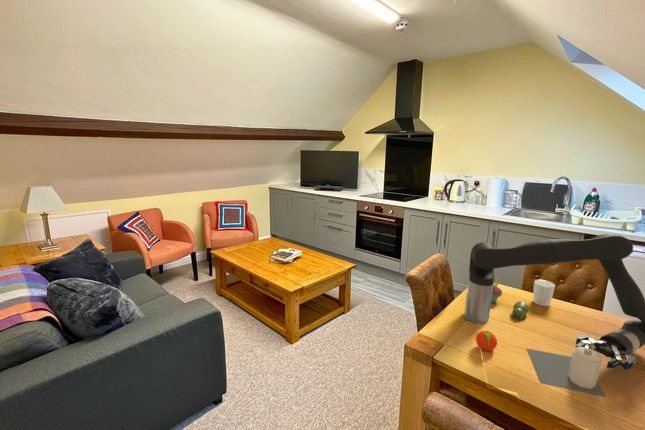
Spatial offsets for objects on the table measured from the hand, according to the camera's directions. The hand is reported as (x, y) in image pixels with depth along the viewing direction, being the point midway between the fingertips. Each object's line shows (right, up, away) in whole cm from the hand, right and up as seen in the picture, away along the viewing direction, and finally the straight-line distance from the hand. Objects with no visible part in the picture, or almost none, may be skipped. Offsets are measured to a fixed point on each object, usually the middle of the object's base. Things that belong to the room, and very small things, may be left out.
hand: (592, 357), depth 101 cm
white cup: (+18, +3, +50) cm, 53 cm away
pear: (+1, +1, +39) cm, 39 cm away
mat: (-6, -7, +5) cm, 10 cm away
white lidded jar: (-3, -8, 0) cm, 8 cm away
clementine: (-26, -5, +16) cm, 31 cm away
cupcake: (-5, +4, +52) cm, 53 cm away
